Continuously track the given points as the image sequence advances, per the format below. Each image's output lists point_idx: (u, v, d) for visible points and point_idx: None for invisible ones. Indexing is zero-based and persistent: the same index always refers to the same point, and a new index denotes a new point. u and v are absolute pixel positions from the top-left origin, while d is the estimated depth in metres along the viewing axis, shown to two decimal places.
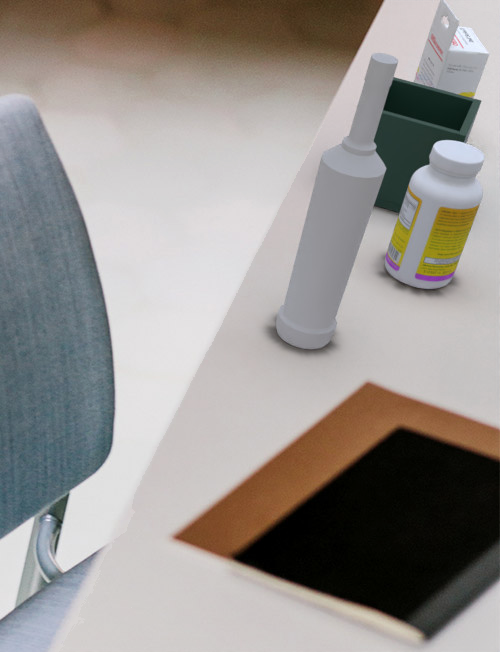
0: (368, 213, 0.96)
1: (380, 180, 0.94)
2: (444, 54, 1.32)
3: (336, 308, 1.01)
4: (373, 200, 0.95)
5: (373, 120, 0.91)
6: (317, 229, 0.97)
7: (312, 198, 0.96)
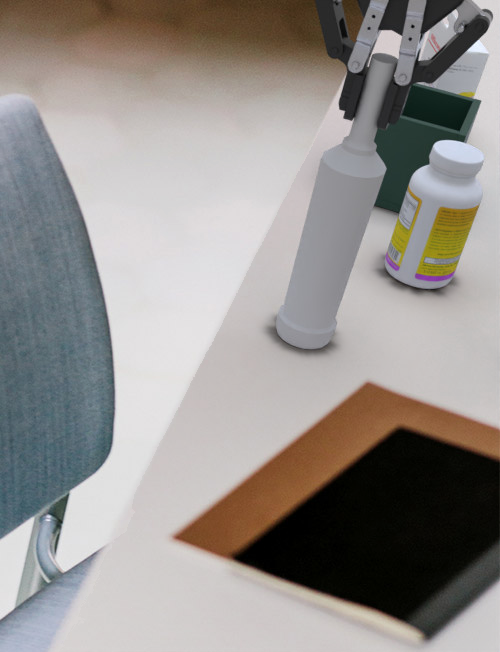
0: (368, 213, 0.96)
1: (380, 180, 0.94)
2: None
3: (336, 308, 1.01)
4: (373, 200, 0.95)
5: (373, 120, 0.91)
6: (317, 229, 0.97)
7: (313, 198, 0.96)
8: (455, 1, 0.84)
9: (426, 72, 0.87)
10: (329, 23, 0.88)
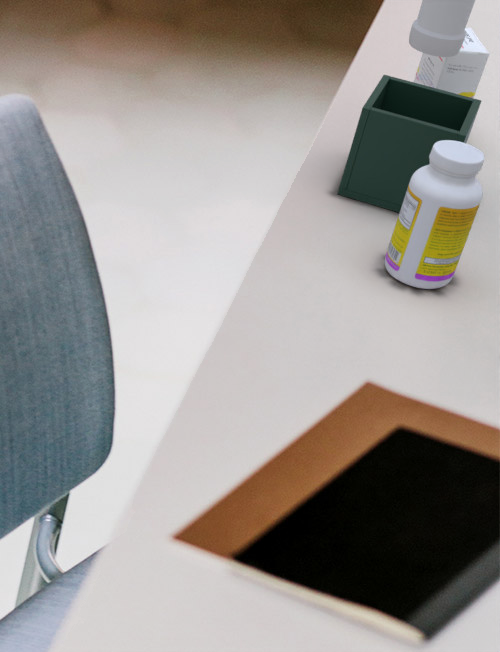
0: None
1: None
2: None
3: (468, 15, 1.12)
4: None
5: None
6: None
7: None
8: None
9: None
10: None
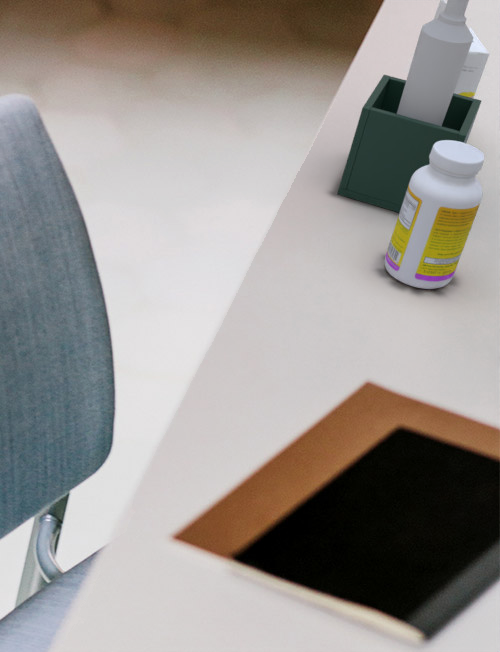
0: (458, 75, 1.19)
1: (469, 46, 1.18)
2: None
3: None
4: (462, 63, 1.19)
5: None
6: (416, 89, 1.20)
7: (413, 63, 1.20)
8: None
9: None
10: None
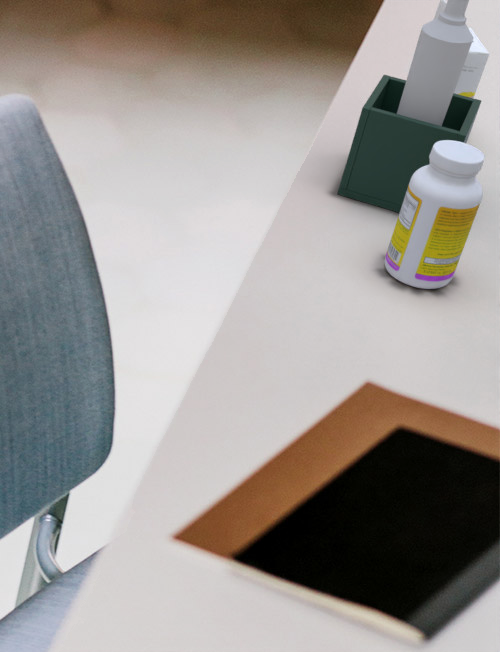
0: (458, 75, 1.19)
1: (469, 46, 1.18)
2: None
3: None
4: (463, 63, 1.19)
5: None
6: (416, 89, 1.20)
7: (413, 63, 1.20)
8: None
9: None
10: None
